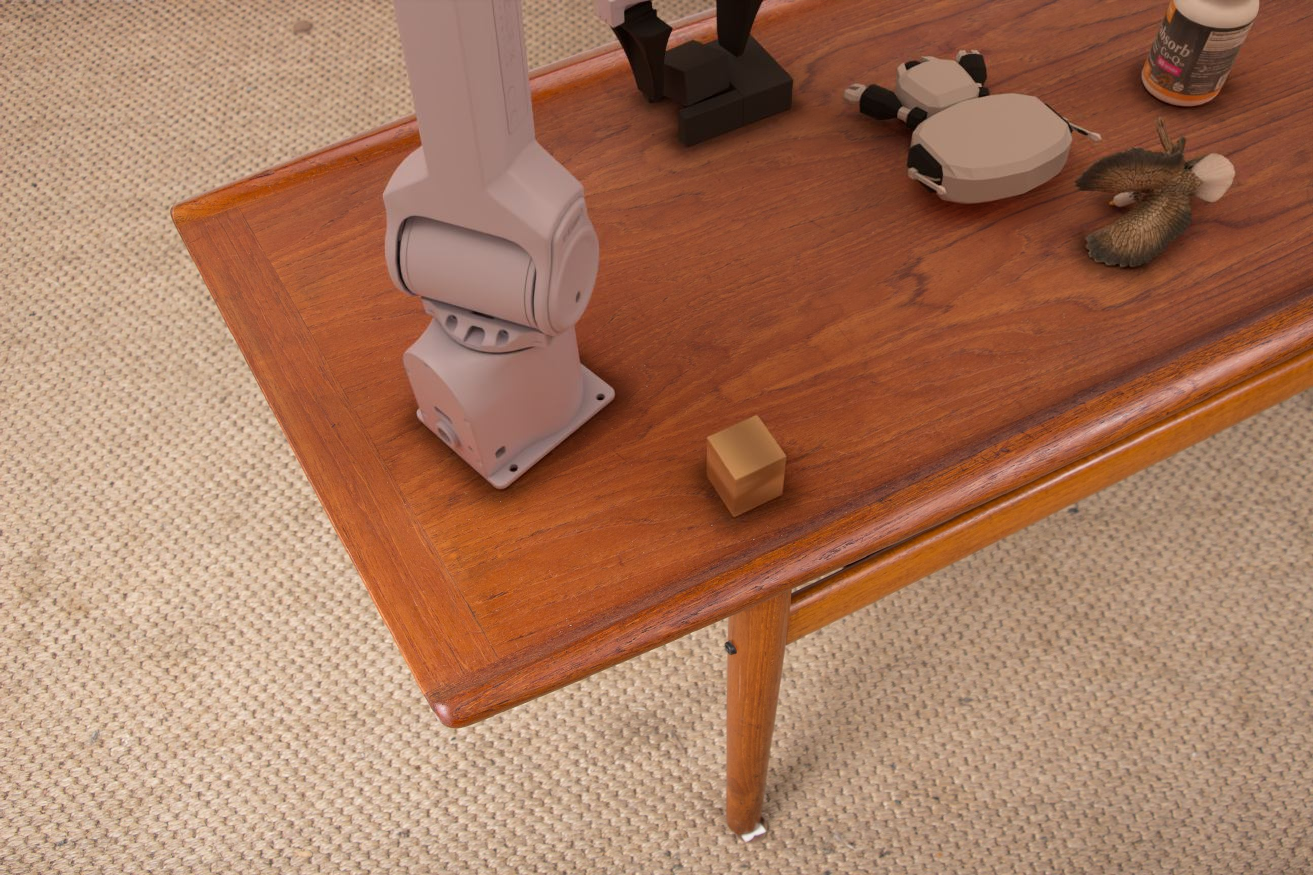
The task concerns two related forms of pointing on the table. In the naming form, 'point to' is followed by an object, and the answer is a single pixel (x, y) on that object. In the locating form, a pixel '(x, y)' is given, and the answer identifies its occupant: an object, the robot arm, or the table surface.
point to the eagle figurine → (1151, 197)
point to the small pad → (694, 72)
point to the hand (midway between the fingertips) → (691, 71)
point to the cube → (745, 465)
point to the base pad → (738, 96)
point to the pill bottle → (1196, 49)
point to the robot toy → (970, 130)
